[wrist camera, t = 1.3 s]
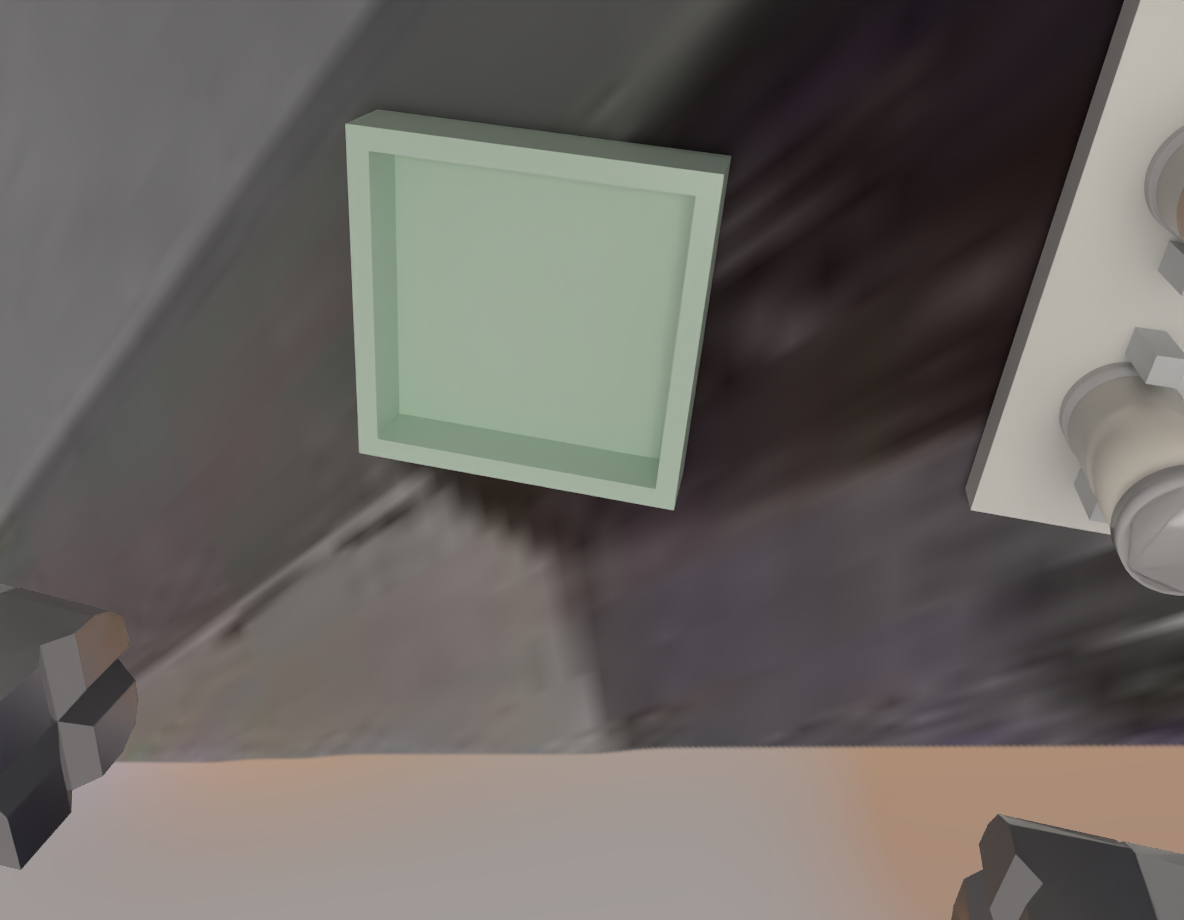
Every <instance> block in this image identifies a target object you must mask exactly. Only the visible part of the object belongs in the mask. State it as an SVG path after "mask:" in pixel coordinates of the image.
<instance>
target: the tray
mask: <svg viewBox="0 0 1184 920" xmlns="http://www.w3.org/2000/svg"><path fill="white" fill-rule="evenodd" d="M345 129H346V152H347V176H348V199H349V223H350V246H351V270H352V293H353V317H354V340H355V364H356V387H357V411H358V434H359V453H362V454H367V455H373V456H378V457H384V458H389V459H395V460H400V461H406V462H411V463H417V464H422V465H428V466H433V467H439V468H444V469H449V470H455V471H460V472H466V473H471V474H477V475H482V476H488V477H493V478H499V479H504V480H510V481H515V482H521V483H526V484H532V485H537V486H543V487H548V488H553V489H559V490H564V491H570V492H575V493H581V494H586V495H592V496H597V497H603V498H608V499H614V500H619V501H625V502H630V503H636V504H641V505H647V506H652V507H657V508H663V509H668V510H674V507H675V503H676V499H677V496H678V492H679V488H680V484H681V480H682V476H683V470H684V463H685V457H686V450H687V444H688V437H689V430H690V424H691V417H692V411H693V404H694V398H695V391H696V385H697V378H698V371H699V365H700V358H701V352H702V345H703V339H704V332H705V325H706V319H707V312H708V306H709V299H710V293H711V286H712V280H713V273H714V266H715V260H716V253H717V247H718V240H719V234H720V227H721V220H722V214H723V207H724V201H725V194H726V188H727V181H728V175H729V168H730V161H731V156H729V155H721V154H714V153H706V152H698V151H691V150H683V149H676V148H668V147H660V146H653V145H645V144H638V143H630V142H622V141H615V140H607V139H600V138H592V137H585V136H577V135H569V134H562V133H554V132H547V131H539V130H531V129H524V128H516V127H509V126H501V125H494V124H486V123H478V122H471V121H463V120H456V119H448V118H440V117H433V116H425V115H418V114H410V113H402V112H395V111H387V110H380V109H377V110H375V111H373V112H371V113H368V114H366V115H364V116H361V117H359V118H357V119H355V120H352V121H350V122H348V123H345Z"/></svg>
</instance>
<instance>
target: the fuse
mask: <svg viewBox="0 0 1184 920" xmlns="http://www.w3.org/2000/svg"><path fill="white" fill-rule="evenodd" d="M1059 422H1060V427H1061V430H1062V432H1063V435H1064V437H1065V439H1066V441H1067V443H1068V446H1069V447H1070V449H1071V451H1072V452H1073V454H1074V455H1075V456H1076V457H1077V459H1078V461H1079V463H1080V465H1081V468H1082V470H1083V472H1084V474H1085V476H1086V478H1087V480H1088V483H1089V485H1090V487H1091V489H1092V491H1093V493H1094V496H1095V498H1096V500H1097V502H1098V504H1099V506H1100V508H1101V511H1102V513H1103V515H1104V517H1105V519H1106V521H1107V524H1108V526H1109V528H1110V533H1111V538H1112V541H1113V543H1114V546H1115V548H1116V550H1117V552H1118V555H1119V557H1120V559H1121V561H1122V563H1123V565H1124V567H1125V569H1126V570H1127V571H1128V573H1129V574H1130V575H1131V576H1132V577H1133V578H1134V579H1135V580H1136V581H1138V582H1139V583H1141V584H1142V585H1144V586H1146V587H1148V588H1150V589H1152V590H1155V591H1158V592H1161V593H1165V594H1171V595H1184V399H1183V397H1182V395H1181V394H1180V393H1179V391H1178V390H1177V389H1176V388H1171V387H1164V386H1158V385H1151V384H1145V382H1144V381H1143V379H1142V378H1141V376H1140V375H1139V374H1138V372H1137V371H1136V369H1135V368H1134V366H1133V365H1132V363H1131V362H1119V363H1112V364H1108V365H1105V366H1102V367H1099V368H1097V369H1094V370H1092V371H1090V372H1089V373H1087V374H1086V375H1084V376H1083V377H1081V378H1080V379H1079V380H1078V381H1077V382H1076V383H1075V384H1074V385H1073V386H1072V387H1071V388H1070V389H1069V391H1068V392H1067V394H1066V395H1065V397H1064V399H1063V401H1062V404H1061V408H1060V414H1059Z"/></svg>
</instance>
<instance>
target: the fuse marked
mask: <svg viewBox="0 0 1184 920" xmlns="http://www.w3.org/2000/svg"><path fill="white" fill-rule="evenodd" d="M1144 194H1145V200H1146V203H1147V206H1148V208H1149V210H1150V212H1151V214H1152V215H1153V217H1154V218H1155V219H1156V220H1157V221H1158V222H1159V223H1160V224H1161V225H1162V226H1163V227H1164V228H1165V229H1166V230H1167V231H1169V232H1170V233H1171V234H1172V235H1174V236H1175V237H1177V238H1179V239H1181V240H1182V241H1183V243H1184V126H1182V127H1181V128H1179V129H1178V130H1176V131H1175V132H1174V133H1173V134H1172V135H1170V136H1169V137H1168V138H1167V139H1166V140H1165V141H1164V142H1163V143H1162V145H1161V146H1160V147H1159V149H1158V150H1157V151H1156V153H1155V154H1154V156H1153V158H1152V160H1151V162H1150V164H1149V166H1148V169H1147V172H1146V176H1145V182H1144Z"/></svg>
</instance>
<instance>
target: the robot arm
mask: <svg viewBox="0 0 1184 920" xmlns="http://www.w3.org/2000/svg"><path fill="white" fill-rule="evenodd" d="M129 645H130V644H129V640H128V635H127V630H126V626H125V621H124V618H123V617H121V616H119V615H117V614H115V613H113V612H111V611H109V610H105V609H101V608H98V607H94V606H90V605H86V604H82V603H78V602H74V601H70V600H67V599H63V598H59V597H55V596H51V595H47V594H43V593H39V592H35V591H32V590H28V589H24V588H15V587H12V586H8V585H4V584H0V865H3V866H7V867H11V868H15V869H20V870H21V869H22V868H23V867H24V866H25V865H26V863H27V862H28V861H29V860H30V859H31V858H32V856H33V855H34V854H35V853H36V852H37V851H38V850H39V848H40V847H41V846H42V845H43V844H44V843H45V842H46V841H47V839H48V838H49V837H50V836H51V835H52V834H53V833H54V831H55V830H56V829H57V828H58V827H59V826H60V825H61V823H62V822H63V821H64V820H65V819H66V818H67V817H68V815H69V814H70V813H71V805H72V790H74V789H76V788H78V787H80V786H82V785H84V784H86V783H89V782H91V781H93V780H95V779H97V778H99V777H102V776H103V775H104V774H105V773H106V771H107V770H108V769H109V768H110V767H111V765H112V764H113V763H114V762H115V761H116V759H117V758H118V757H119V756H120V755H121V753H122V752H123V750H124V747H125V745H126V743H127V741H128V739H129V736H130V734H131V732H132V730H133V728H134V726H135V723H136V715H137V707H138V694H137V687H136V681H135V680H134V678H133V677H132V676H131V675H130V673H129V672H128V671H127V670H126V668H125V667H124V666H123V665H122V663H121V662H120V661H119V660H118V659H119V658H120V656H121V655H122V654H123V653H124V652H125V650H126V649H127V648H128V647H129ZM979 847H980V853H981V859H982V865H983V870H981V871H979V872H977V873H975V874H973V875H971V876H969V877H967V878H965V879H964V880H963V883H962V885H961V888H960V891H959V893H958V896H957V898H956V901H955V904H954V906H953V913H952V919H951V920H1184V854H1180V853H1175V852H1170V851H1166V850H1161V849H1157V848H1152V847H1147V846H1143V845H1138V844H1133V843H1129V842H1118V841H1116V840H1114V839H1109V838H1105V837H1100V836H1095V835H1091V834H1086V833H1082V832H1077V831H1073V830H1068V829H1063V828H1059V827H1055V826H1050V825H1046V824H1041V823H1037V822H1032V821H1027V820H1023V819H1018V818H1013V817H1009V816H1005V815H1000V814H998V815H997V816H996V817H995V818H994V819H993V820H992V821H991V822H990V823H989V824H988V825H987V828H986V830H985V832H984V834H983V836H982V839H981V841H980V843H979Z"/></svg>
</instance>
